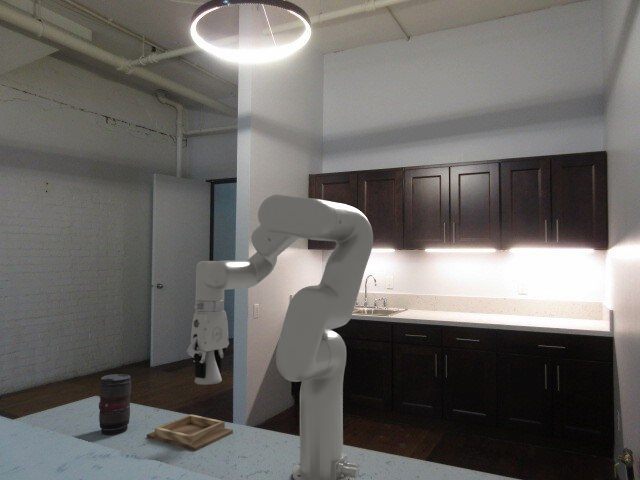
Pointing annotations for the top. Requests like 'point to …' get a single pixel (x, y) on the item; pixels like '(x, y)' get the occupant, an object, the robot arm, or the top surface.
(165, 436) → the shaker holder
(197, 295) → the robot arm
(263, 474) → the top surface
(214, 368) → the flask
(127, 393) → the camera lens
